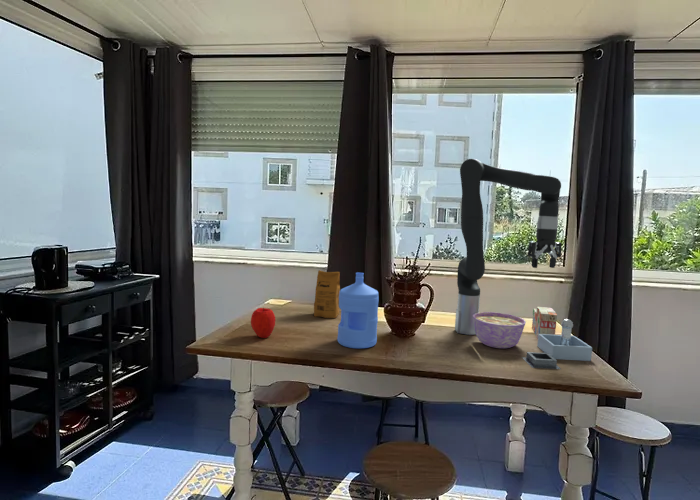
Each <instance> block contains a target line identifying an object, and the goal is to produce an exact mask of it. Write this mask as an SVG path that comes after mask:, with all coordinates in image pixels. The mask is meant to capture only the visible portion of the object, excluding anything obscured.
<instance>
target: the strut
mask: <svg viewBox="0 0 700 500" xmlns="http://www.w3.org/2000/svg"><path fill="white" fill-rule="evenodd" d="M573 323H574V322H573V321H572V320H571V319H568V318H564V319H563V320H562V321H561V323H560V325H561V334H560V335H561V344H560V345H564V346H570V339H571V336H572V328H573V327H574V324H573Z"/></svg>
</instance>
